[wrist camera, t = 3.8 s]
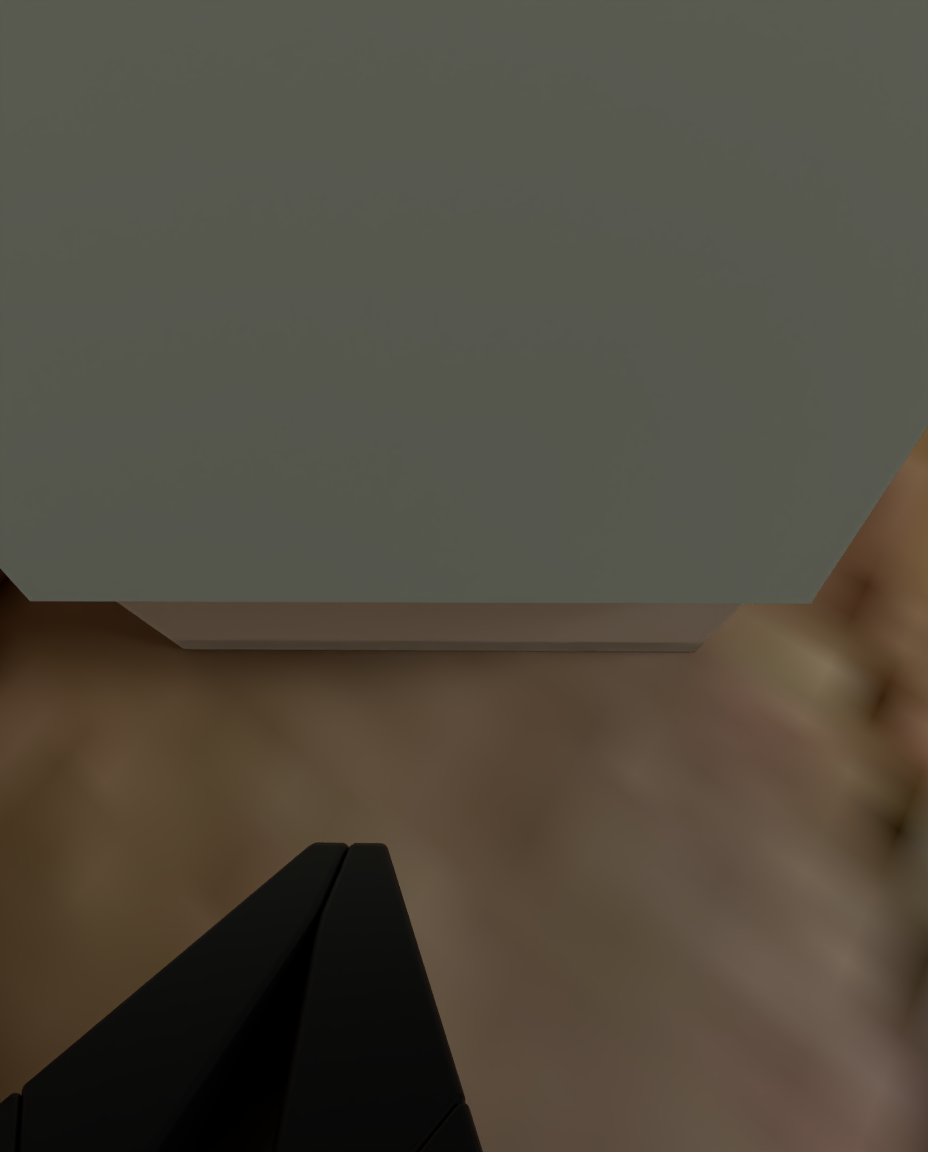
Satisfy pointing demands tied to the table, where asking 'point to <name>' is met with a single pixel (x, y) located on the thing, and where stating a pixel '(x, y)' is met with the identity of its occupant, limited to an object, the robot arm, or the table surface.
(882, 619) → the table surface
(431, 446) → the chest lid
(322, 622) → the chest
